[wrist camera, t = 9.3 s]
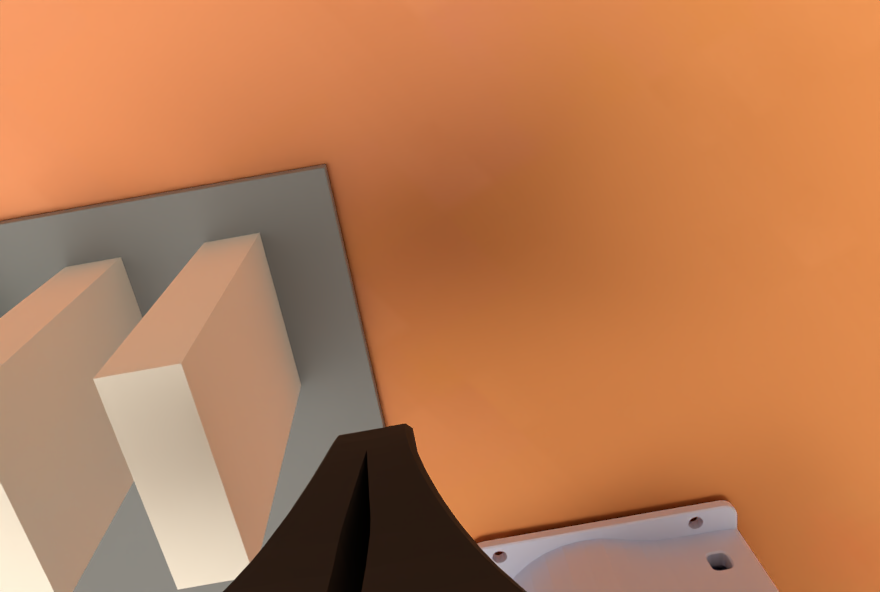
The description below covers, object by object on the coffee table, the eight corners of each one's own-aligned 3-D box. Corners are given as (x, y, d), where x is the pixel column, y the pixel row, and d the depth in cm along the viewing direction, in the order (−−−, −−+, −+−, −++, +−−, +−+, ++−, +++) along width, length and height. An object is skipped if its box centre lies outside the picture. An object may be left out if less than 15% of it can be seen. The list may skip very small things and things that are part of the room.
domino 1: (120, 257, 20) (-40, 401, 13) (174, 407, 22) (63, 609, 14) (65, 267, 20) (-128, 417, 13) (123, 416, 22) (-14, 622, 14)
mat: (325, 164, 20) (324, 167, 19) (431, 630, 27) (432, 641, 26) (-370, 286, 20) (-388, 293, 19) (-87, 720, 27) (-96, 732, 26)
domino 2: (259, 232, 20) (181, 363, 13) (301, 385, 22) (254, 576, 14) (203, 242, 20) (93, 378, 13) (250, 393, 22) (177, 589, 14)
